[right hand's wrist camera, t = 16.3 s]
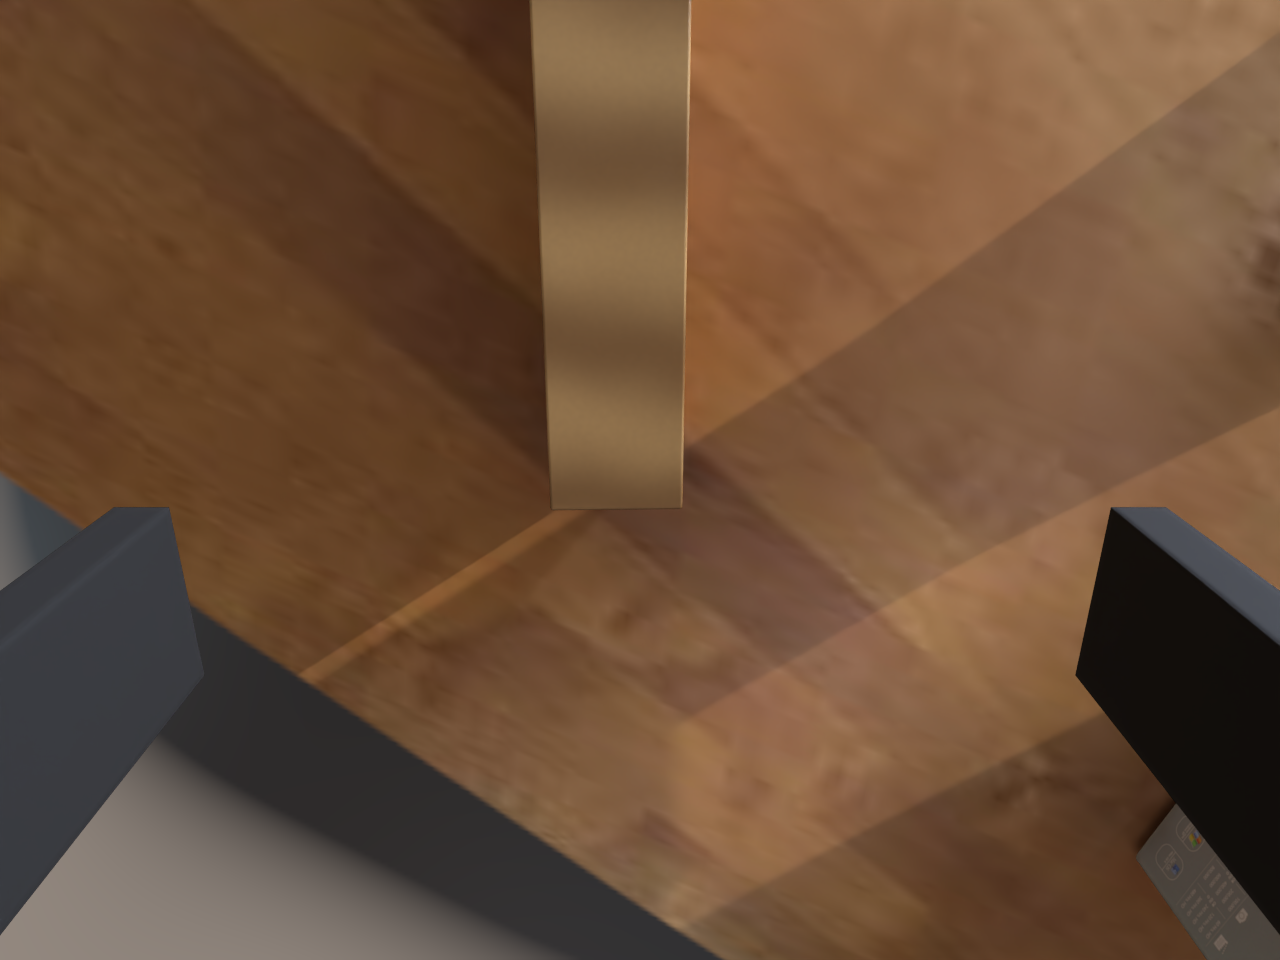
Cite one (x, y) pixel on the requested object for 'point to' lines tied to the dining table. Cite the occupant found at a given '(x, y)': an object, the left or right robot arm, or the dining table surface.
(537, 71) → the post
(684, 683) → the dining table surface
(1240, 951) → the hard drive box
